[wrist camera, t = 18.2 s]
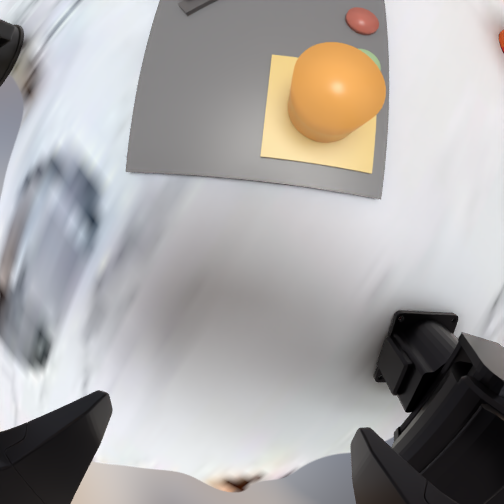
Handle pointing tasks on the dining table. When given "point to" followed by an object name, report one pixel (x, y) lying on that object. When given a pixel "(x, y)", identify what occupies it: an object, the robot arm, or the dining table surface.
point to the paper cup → (501, 39)
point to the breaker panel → (252, 93)
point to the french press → (9, 47)
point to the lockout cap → (334, 91)
